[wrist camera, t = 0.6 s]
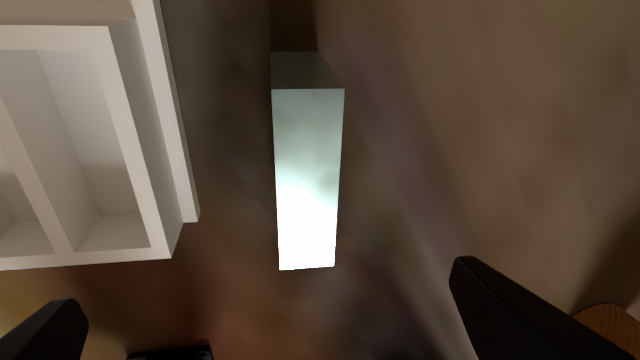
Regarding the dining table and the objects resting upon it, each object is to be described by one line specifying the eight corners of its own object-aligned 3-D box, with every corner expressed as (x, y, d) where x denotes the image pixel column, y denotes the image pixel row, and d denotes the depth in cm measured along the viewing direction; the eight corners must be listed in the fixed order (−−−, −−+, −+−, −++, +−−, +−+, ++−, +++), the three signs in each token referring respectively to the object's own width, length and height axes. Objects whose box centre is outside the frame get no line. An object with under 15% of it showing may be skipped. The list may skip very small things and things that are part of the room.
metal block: (315, 185, 21) (333, 265, 15) (276, 187, 21) (280, 270, 15) (317, 51, 17) (344, 88, 11) (270, 51, 17) (271, 89, 11)
